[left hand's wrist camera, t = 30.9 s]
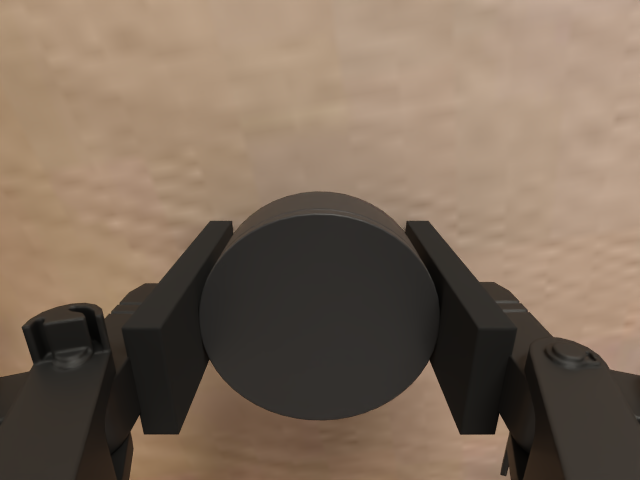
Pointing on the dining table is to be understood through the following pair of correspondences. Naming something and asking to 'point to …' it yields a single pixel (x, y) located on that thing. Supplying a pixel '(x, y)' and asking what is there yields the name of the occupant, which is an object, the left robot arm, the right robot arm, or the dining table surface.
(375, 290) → the lid
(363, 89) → the dining table surface
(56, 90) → the dining table surface
